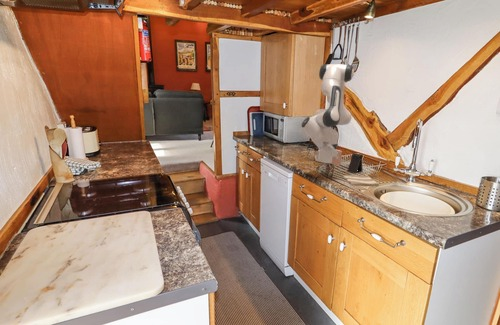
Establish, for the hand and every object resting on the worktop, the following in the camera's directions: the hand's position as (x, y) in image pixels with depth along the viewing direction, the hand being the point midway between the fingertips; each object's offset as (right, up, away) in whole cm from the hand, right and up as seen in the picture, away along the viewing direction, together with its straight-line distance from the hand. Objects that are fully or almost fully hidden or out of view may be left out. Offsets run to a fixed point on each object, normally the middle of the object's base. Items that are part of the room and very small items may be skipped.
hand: (336, 156), depth 170 cm
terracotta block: (0, -5, +1) cm, 5 cm away
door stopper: (+19, -10, +19) cm, 28 cm away
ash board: (+14, -15, -1) cm, 20 cm away
